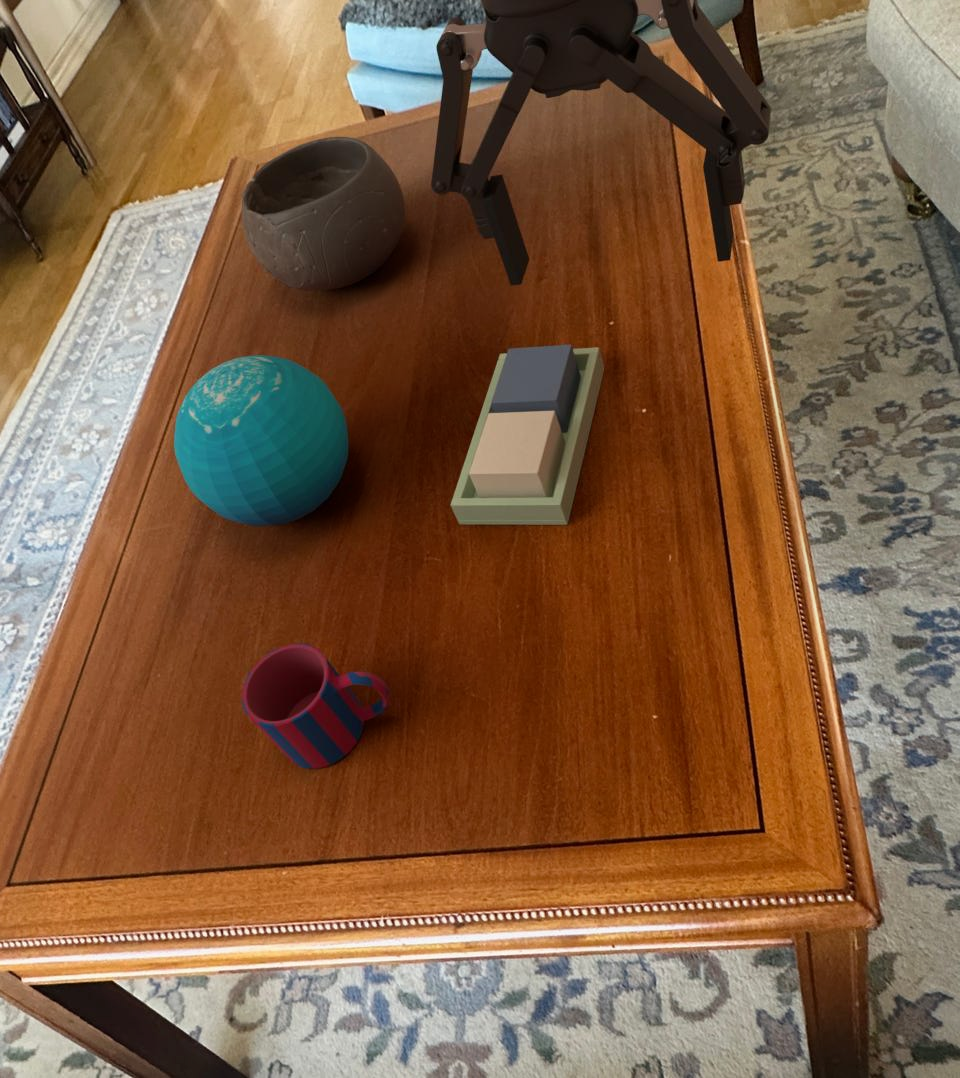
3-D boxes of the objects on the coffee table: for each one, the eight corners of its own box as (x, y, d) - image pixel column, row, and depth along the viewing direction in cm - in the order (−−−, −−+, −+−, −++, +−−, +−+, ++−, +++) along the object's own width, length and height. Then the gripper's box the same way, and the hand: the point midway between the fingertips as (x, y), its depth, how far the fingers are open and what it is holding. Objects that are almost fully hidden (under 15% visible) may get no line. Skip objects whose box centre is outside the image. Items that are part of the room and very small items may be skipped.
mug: (294, 691, 77) (255, 645, 72) (412, 686, 74) (380, 638, 69) (273, 770, 73) (230, 726, 68) (396, 768, 70) (361, 723, 65)
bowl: (254, 285, 118) (202, 193, 109) (372, 205, 122) (331, 110, 113) (323, 340, 107) (271, 242, 97) (451, 250, 110) (413, 148, 101)
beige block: (500, 444, 87) (488, 412, 84) (565, 442, 85) (554, 410, 82) (482, 505, 83) (468, 473, 80) (549, 504, 81) (537, 472, 78)
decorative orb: (380, 425, 95) (316, 302, 84) (366, 544, 85) (293, 423, 74) (240, 455, 98) (161, 340, 87) (212, 573, 89) (120, 461, 78)
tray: (507, 374, 94) (499, 353, 92) (604, 368, 91) (599, 346, 89) (459, 524, 84) (449, 505, 82) (567, 525, 80) (560, 504, 78)
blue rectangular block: (519, 380, 92) (508, 348, 89) (581, 377, 90) (571, 343, 87) (503, 434, 88) (490, 402, 85) (567, 432, 86) (556, 399, 83)
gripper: (290, -5, 51) (429, 316, 66) (793, -136, 41) (820, 275, 57) (336, -67, 55) (456, 248, 71) (800, -198, 46) (823, 199, 61)
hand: (619, 261), depth 64 cm, fingers open, 13 cm apart
